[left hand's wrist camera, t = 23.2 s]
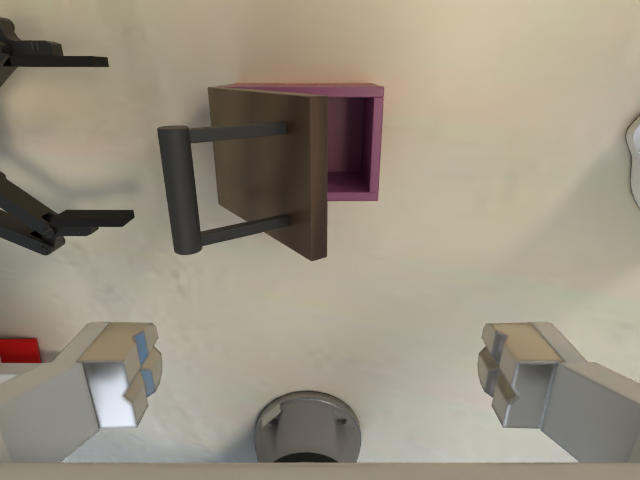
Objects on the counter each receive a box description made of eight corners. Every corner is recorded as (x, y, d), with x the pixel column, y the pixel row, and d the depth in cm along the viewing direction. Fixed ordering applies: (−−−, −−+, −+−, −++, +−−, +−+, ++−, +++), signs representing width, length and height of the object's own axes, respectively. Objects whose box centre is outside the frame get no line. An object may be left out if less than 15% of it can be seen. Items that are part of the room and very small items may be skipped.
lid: (328, 95, 24) (171, 101, 19) (327, 257, 27) (195, 296, 23) (221, 86, 35) (106, 89, 30) (231, 201, 39) (130, 220, 34)
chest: (371, 83, 44) (384, 86, 35) (367, 177, 48) (378, 201, 39) (236, 83, 44) (216, 86, 35) (243, 177, 48) (226, 201, 39)
